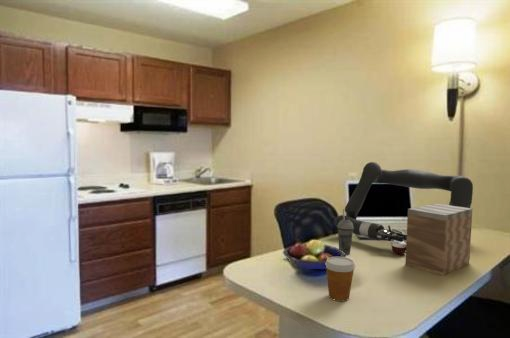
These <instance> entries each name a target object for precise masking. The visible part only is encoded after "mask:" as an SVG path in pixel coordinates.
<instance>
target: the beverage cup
mask: <svg viewBox="0 0 510 338" xmlns="http://www.w3.org/2000/svg"><path fill="white" fill-rule="evenodd" d="M342 215H343V218H344V219H342V220H341V221H340V222H339V223H338V226H337V227H336V228H337V235H338V251H339V250H341V251H343V252H344V253H345V255H344V256H350V255H351V249H352V242H353V241H352V240H353V235H354V233H353V230H354V226H353V223H352V222H351V221H350V220H348V219H345V216H346V215H345V208H342Z"/></svg>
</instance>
